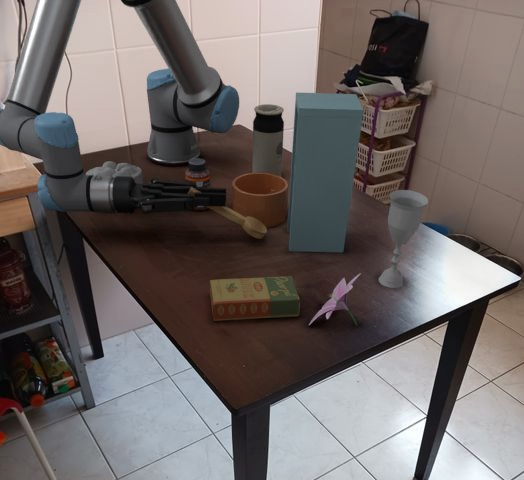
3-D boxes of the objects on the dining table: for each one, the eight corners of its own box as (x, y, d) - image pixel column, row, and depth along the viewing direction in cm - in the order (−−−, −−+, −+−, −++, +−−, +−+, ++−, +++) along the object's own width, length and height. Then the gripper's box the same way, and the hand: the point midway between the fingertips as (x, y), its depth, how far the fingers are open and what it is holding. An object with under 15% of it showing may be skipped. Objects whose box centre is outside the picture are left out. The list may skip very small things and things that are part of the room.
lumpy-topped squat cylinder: (87, 197, 136) (81, 163, 131) (137, 187, 141) (133, 155, 136) (100, 214, 130) (94, 179, 124) (151, 203, 135) (148, 169, 129)
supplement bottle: (207, 212, 132) (205, 167, 124) (183, 210, 133) (180, 164, 125) (213, 202, 136) (212, 157, 129) (191, 199, 137) (188, 155, 130)
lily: (347, 301, 107) (328, 261, 102) (393, 308, 97) (374, 265, 93) (308, 340, 103) (286, 301, 98) (352, 352, 93) (330, 310, 89)
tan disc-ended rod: (186, 200, 113) (189, 193, 112) (188, 188, 118) (192, 182, 117) (263, 242, 120) (267, 236, 119) (263, 230, 124) (266, 224, 123)
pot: (233, 202, 136) (233, 171, 131) (285, 204, 137) (286, 173, 132) (231, 227, 127) (231, 194, 121) (287, 228, 127) (289, 196, 122)
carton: (210, 296, 105) (209, 278, 102) (291, 292, 107) (292, 273, 104) (213, 322, 99) (212, 303, 96) (299, 317, 101) (301, 298, 98)
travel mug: (246, 177, 149) (246, 108, 137) (265, 169, 153) (267, 101, 142) (268, 185, 145) (270, 115, 133) (287, 176, 150) (291, 108, 138)
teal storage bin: (287, 229, 126) (296, 92, 107) (338, 230, 127) (356, 94, 107) (288, 251, 119) (298, 107, 99) (343, 252, 119) (363, 109, 100)
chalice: (367, 275, 112) (382, 192, 101) (394, 268, 115) (412, 187, 103) (386, 293, 107) (404, 209, 96) (415, 287, 109) (436, 203, 98)
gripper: (105, 192, 107) (223, 195, 108) (119, 163, 119) (227, 166, 119) (110, 226, 112) (224, 229, 113) (124, 196, 123) (227, 199, 124)
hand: (225, 197), depth 116 cm, fingers closed on tan disc-ended rod, 2 cm apart
